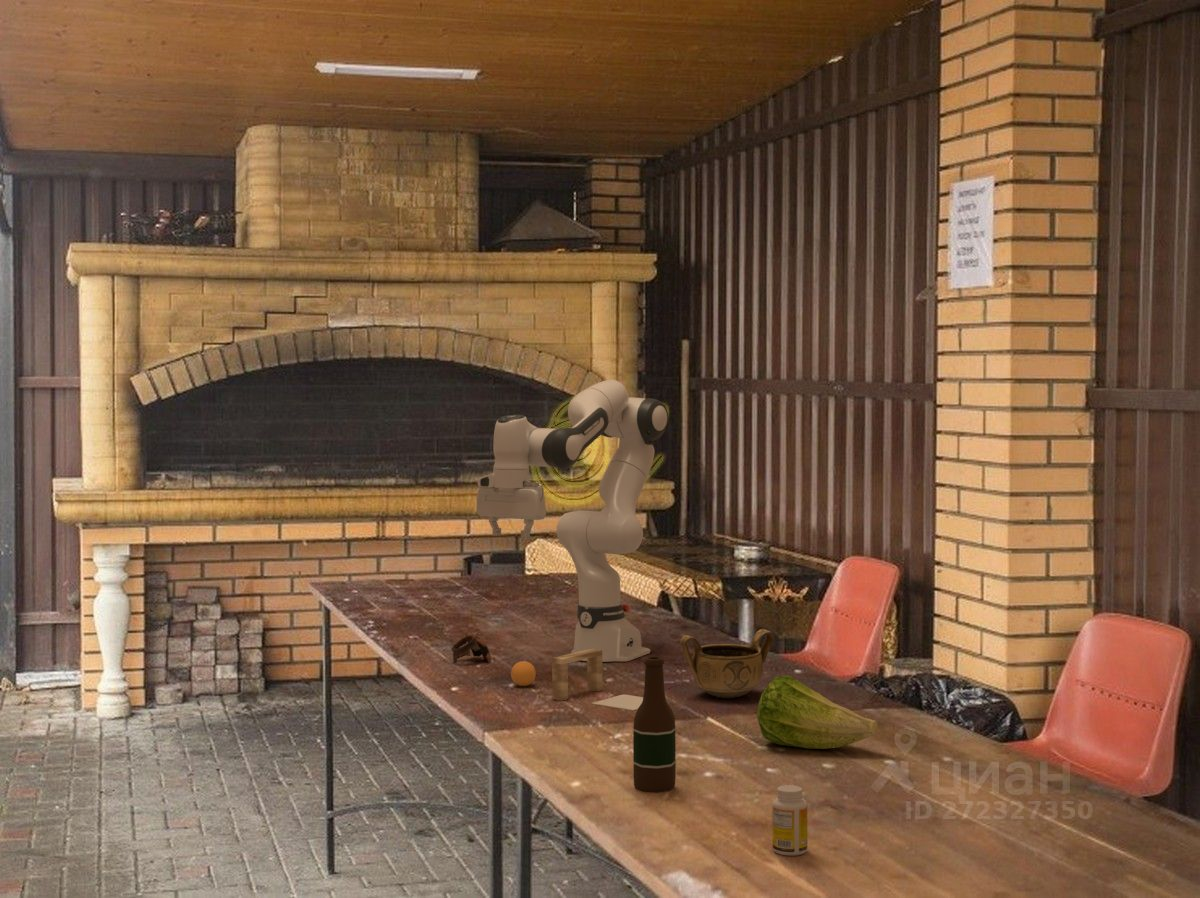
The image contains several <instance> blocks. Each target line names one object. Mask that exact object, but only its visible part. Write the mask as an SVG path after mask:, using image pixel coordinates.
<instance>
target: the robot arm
mask: <svg viewBox="0 0 1200 898" xmlns="http://www.w3.org/2000/svg"><path fill="white" fill-rule="evenodd" d="M567 416H568V420H569V422H570V424H571V425H572V427H561V428H550V427H549V428H547V427H546V428H544V427H543V428H542V427H538V426H535V425H534V424H533V423H530V422H529V421H528V419H527V416H525V415H524V414H511V415H510V414H509V415H504V416H501V417H499V418H497V420H496V423H495V425H494V431H493V432H494V433H493V447H492V449H493V455H494V464H493V467H492V468H493V471H492V472H491V473H489V474H487V475H485V476H482V477H480V478H478V479H477V486H478V487H479V488H478V490H477V493H476V513H477V514H478V516H479V517H488V523H489V525H490V528H491V531H492V536H502V528H501V527H499V524H498V521H499V518H503V519H513V520H514V519H518V520H523V524H524V528H523V529H522V530H520V537H521V538H525V539H526V538H527V539H528V538H530V537H531V530H532V528H533V526H534V524H535V523H534V522H535V521H540V520H544V519H545V518H546V516H547V508H546V501H545V499H546V498H545V494H544V493H545V489H544V487H543V485H542V484H540V482H538V481H530V467H541V468H542V467H545V468H546V467H547V468H556V469H563V470H565V469H566V470H567V469H570V468H571V467H573V465H575V464H576V462H577V461H578V460H579V458H580V457H581V456H582V454H583V452H584V451H585V450H586V449H587V448H588V447H589V446H590V445H592V443H594V442H595V441H596V440H597V439H598V438H599V437H601V436H603V437H606V438H609V439H610V438H616V439H617V438H619V443H618V448H617V449H616V450H615V452H614V454H613V455H612V456H611V458H610V460H609V463H608V465H607V467H606V469H605V471H604V473H603V475H602V478H601V479H600V481H599V484H598V492H599V493H598V494H599V497H600V498H601V499H602V501H603V502H604V507H603V508H602V509H601V510H588V509H587V510H586V509H585V510H584V509H583V510H582V509H581V510H580V509H578V510H573V511H568V512H566V513H564V514H562V515H561V516H560V518H559V520H558V522H557V525H556V537H557V540H558V542H559V543H560V545H561V546H563V548H564V549H565V550H566V551H567V553H568V554H569V557H571V559H572V562H573V564H574V567H575V569H576V575H577V582H578V583H577V585H578V603H577V606H576V607H577V609H576V616H577V620H578V622H577V623H576V625H575V631H574V632H575V633H574V643H573V649H572V650H571V652H570V654H571V653H576V652H580V651H584V650H589V649H599V650H602V663H603V662H604V663H607V662H630V661H633V660H634V659H638V658H640V657H643V656H645V655H648V654H650V652H651V649H650V648H648V647H645V646H643V645H642V635H641V632H640V630H639V629H638V628H637V627H636V626H634V625H633V624H632V622H630V621H629V620H628V619H626V615H625V612H626V613H630V612H631V609H632V608H631V605H630V604H625V603H624V604H621V578H620V574H619V572H618V571H617V570H616V569H615V568H613V567H612V566H611V564H610V563H609V561H608V559H607V556H606V554H609V555H623V554H629V553H633V552H635V551H637V550H638V549H639V547H640V546H641V543H642V541H643V540H644V539H643V537H644V529H643V526H642V522H641V521H640V520H639V519H638V517H637V514H636V511H637V504H638V500H639V498H640V495H641V493H642V491H643V488H644V486H645V484H646V481H647V479H648V478H649V474H650V472H651V469H652V467H653V462H654V457H655V447H654V444H656V443H657V442H659V441H660V439H661V436H663V434H664V432H665V431H666V429H667V427H668V424H669V423H668V422H669V413H668V409H667V407H666V405H665V404H664V403H663V402H662V401H660V400H658V399H655V398H652V397H651V398H649V397H648V398H643V397H632V396H630V395H629V392H628V391H627V388H626V387H625V385H624V384H623V383H622V382H620V381H619V380H616V379H606V380H603V381H600V382H596V383H595V384H592V385H591V386H588V387H586V388H585V389H583V390H582V391H580V392H578V393H577V394H576V395H575V396H574V397H573V398H572V399H571V400H570V402H569V403H568V408H567ZM581 661H583V662H587V659H583V660H581Z"/></svg>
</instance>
